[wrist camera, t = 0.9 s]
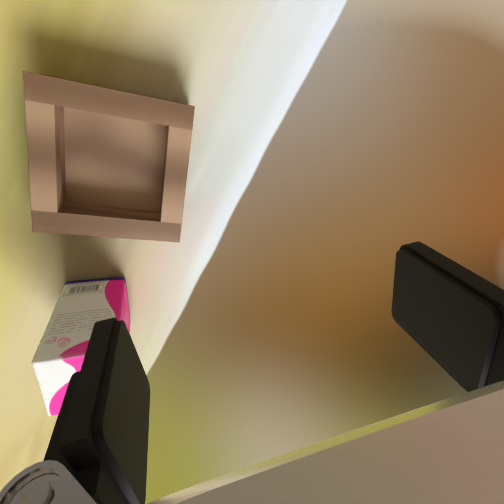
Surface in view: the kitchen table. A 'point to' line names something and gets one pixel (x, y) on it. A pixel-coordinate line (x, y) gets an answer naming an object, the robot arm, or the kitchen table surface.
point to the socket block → (105, 160)
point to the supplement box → (75, 333)
